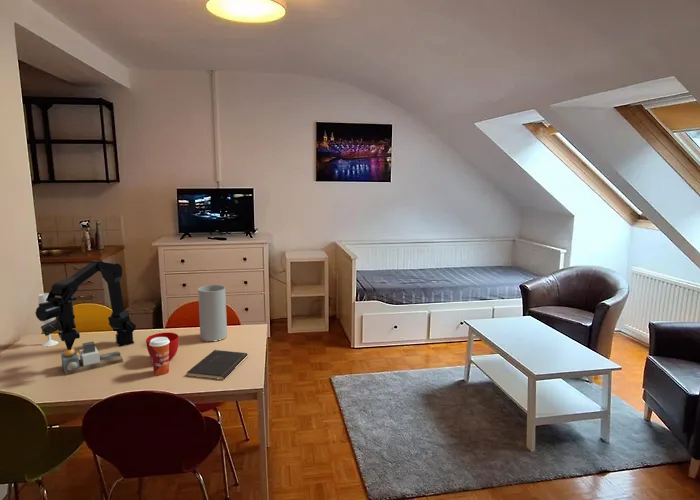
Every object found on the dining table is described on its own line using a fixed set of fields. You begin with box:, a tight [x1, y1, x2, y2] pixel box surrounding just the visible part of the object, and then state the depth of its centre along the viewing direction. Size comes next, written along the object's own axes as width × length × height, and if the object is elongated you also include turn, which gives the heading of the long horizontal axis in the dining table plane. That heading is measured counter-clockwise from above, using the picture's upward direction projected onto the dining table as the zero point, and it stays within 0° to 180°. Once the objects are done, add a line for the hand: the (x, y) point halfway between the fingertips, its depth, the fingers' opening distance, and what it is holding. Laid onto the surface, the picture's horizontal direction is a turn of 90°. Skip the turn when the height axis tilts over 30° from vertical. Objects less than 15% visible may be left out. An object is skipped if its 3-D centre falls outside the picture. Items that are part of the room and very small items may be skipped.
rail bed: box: [60, 350, 124, 376], centre depth 191 cm, size 21×10×6 cm, turn 129°
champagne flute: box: [37, 292, 59, 348], centre depth 211 cm, size 7×7×24 cm
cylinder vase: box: [197, 284, 228, 342], centre depth 221 cm, size 12×12×25 cm
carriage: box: [78, 341, 100, 366], centre depth 190 cm, size 6×8×8 cm
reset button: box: [63, 347, 76, 356], centre depth 185 cm, size 4×4×2 cm
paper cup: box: [149, 337, 170, 376], centre depth 184 cm, size 8×8×14 cm
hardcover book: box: [186, 349, 249, 380], centre depth 192 cm, size 16×23×2 cm
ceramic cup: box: [145, 332, 180, 362], centre depth 198 cm, size 13×17×10 cm
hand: (69, 349), depth 185 cm, fingers closed, pressing on reset button
